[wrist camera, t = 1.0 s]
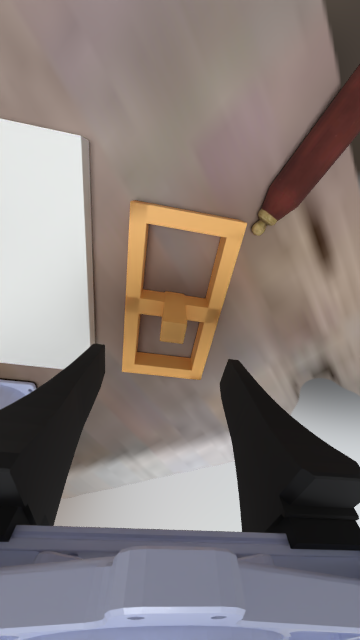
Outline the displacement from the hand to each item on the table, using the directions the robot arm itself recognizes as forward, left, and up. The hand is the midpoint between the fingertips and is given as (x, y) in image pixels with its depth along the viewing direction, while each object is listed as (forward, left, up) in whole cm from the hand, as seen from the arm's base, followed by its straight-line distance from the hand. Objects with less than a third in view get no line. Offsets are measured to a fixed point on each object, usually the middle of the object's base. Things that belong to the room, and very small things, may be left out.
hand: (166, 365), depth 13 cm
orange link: (0, 0, -10) cm, 10 cm away
